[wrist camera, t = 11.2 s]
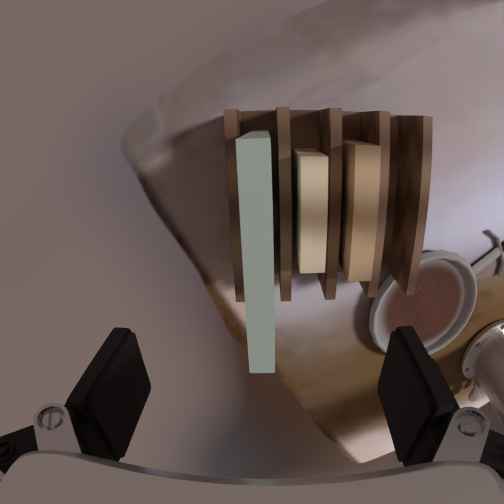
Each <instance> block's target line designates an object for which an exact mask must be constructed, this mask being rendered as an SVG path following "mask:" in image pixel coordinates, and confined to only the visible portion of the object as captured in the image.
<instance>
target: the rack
mask: <svg viewBox="0 0 504 504" xmlns="http://www.w3.org/2000/svg"><path fill="white" fill-rule="evenodd" d="M223 111H224V130H225V148H226V165H227V182H228V197H229V213H230V227H231V242H232V256H233V269H234V282H235V295H236V302H245V294H244V278H243V261H242V245H241V228H240V210H239V192H238V174H237V155H236V139H237V138H239V137H241V136H243V135H245V134H247V133H249V132H251V131H261V130H268V132H269V135H270V138H271V167H272V201H273V245H274V274H279V281H280V295H281V301H291V275H292V273H300V271H299V266H298V261H297V256H296V252H295V247H294V242H293V163H292V149H315V150H317V151H319V152H321V153H323V154H325V155H326V156H328V215H327V242H326V263H325V273H317V274H318V277H319V281H320V284H321V287H322V290H323V294H324V297H325V300H331V299H335V295H336V284H337V272H343V270H342V268H341V266H340V264H339V262H338V257H339V241H340V222H341V196H342V140H357V141H362V142H366V143H370V144H374V145H378V146H381V164H380V188H379V205H378V219H377V230H376V241H375V251H374V260H373V268H372V276H371V281H359V282H360V284H361V286H362V288H363V290H364V292H365V294H366V296H367V298H370V297H377V290H378V284H379V277H380V270H388V271H389V272H390V274H391V275H392V276H393V278H394V279H395V281H396V282H397V283H398V285H399V286H400V288H401V289H402V290H403V292H404V293H405V295H414V292H415V287H416V282H417V277H418V272H419V266H420V260H421V254H422V248H423V241H424V234H425V227H426V219H427V210H428V201H429V190H430V177H431V160H432V117H428V116H398V115H390V112H386V111H370V112H348V111H342V108H327V109H323V110H289V107H277V108H276V110H270V111H244V112H241V111H239V110H237V109H228V110H223Z"/></svg>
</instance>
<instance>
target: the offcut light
mask: <svg viewBox="0 0 504 504" xmlns="http://www.w3.org/2000/svg"><path fill="white" fill-rule="evenodd" d="M292 163H293V242H294V247H295V252H296V256H297V261H298V266H299V271H300V273H325V263H326V242H327V215H328V156H326V155H325V154H323V153H321V152H319V151H317V150H315V149H292Z"/></svg>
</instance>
